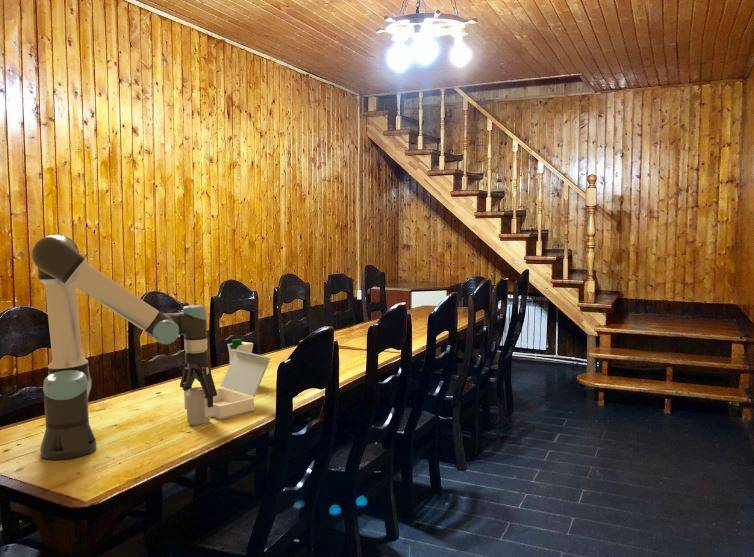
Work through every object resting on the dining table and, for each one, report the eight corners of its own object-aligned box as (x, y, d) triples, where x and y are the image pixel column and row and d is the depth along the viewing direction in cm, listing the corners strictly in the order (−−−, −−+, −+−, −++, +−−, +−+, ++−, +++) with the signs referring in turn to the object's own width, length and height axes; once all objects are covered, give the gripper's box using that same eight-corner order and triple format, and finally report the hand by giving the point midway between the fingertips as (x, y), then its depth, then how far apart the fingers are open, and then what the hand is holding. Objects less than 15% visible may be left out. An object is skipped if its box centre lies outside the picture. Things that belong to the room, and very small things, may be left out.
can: (203, 427, 212) (202, 391, 211) (183, 425, 213) (182, 390, 212) (213, 420, 219) (212, 386, 218) (194, 419, 221) (192, 385, 220)
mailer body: (220, 420, 219) (219, 406, 218) (188, 408, 234) (187, 394, 234) (254, 411, 229) (253, 398, 228) (221, 400, 244) (221, 387, 244)
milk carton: (226, 386, 266) (225, 339, 264) (241, 382, 273) (240, 336, 271) (241, 389, 261) (240, 341, 259) (257, 384, 268) (255, 338, 267)
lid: (266, 356, 231) (270, 358, 233) (232, 348, 247) (237, 351, 248) (249, 394, 227) (254, 396, 228) (216, 384, 242) (221, 386, 244)
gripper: (226, 354, 208) (228, 417, 210) (187, 344, 226) (190, 403, 227) (205, 357, 203) (208, 422, 205) (168, 348, 220) (171, 407, 222)
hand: (198, 412), depth 216 cm, fingers open, 13 cm apart
